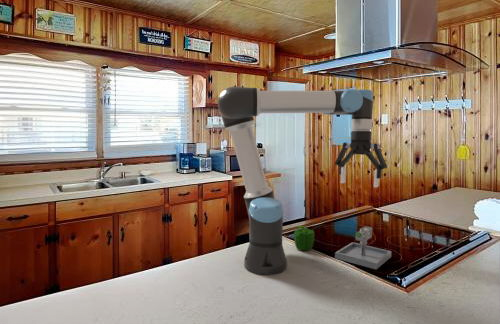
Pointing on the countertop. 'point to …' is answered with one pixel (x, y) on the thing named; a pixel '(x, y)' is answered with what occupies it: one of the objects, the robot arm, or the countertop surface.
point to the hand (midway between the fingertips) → (358, 184)
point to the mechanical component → (364, 237)
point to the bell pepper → (304, 238)
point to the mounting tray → (371, 258)
